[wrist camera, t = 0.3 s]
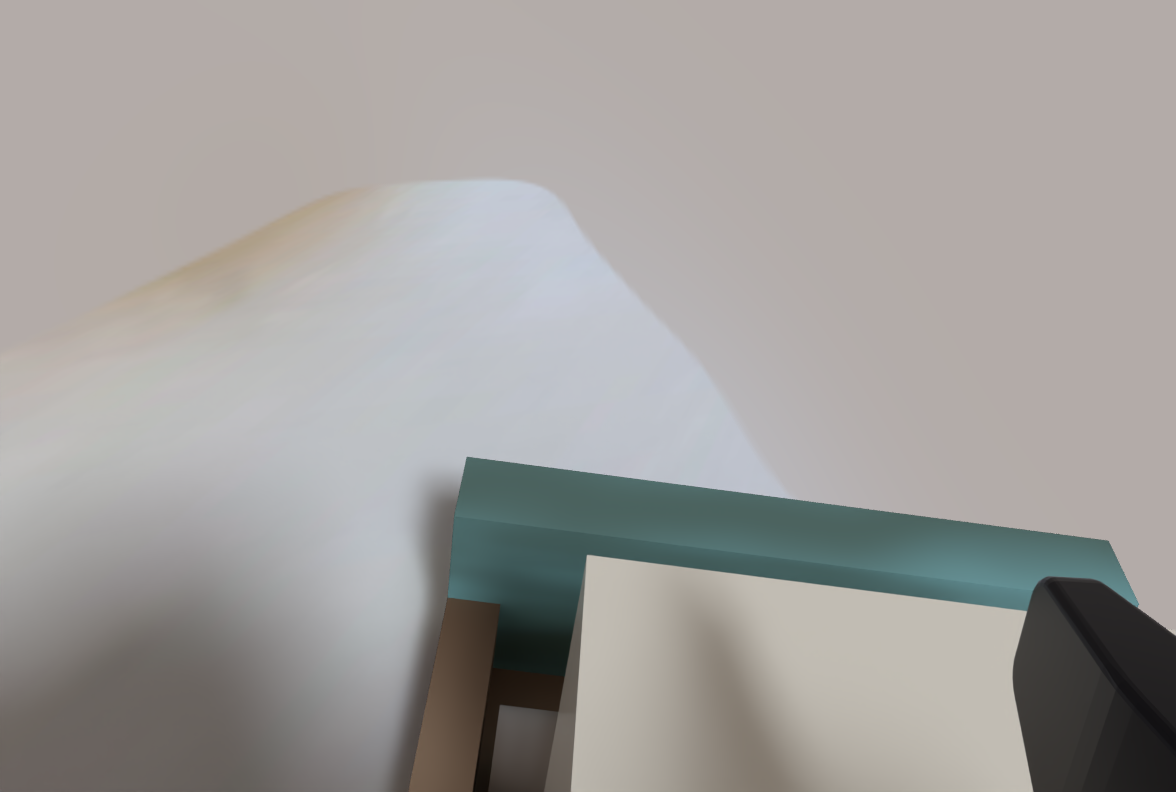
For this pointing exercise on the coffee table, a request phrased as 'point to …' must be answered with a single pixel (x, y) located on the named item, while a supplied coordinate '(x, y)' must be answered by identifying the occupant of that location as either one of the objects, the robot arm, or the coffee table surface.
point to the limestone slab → (782, 688)
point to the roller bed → (670, 537)
